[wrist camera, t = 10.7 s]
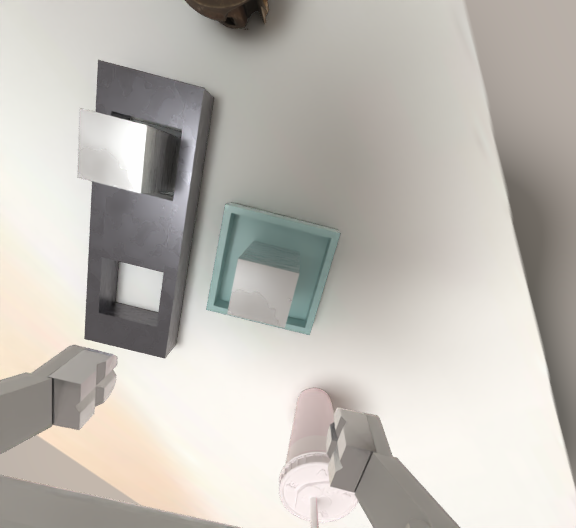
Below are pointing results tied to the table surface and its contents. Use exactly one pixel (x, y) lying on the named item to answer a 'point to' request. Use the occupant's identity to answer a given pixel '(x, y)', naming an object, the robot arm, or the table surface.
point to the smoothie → (312, 464)
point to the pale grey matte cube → (264, 284)
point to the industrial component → (230, 10)
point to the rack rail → (145, 212)
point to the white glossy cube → (126, 154)
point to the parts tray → (282, 233)
